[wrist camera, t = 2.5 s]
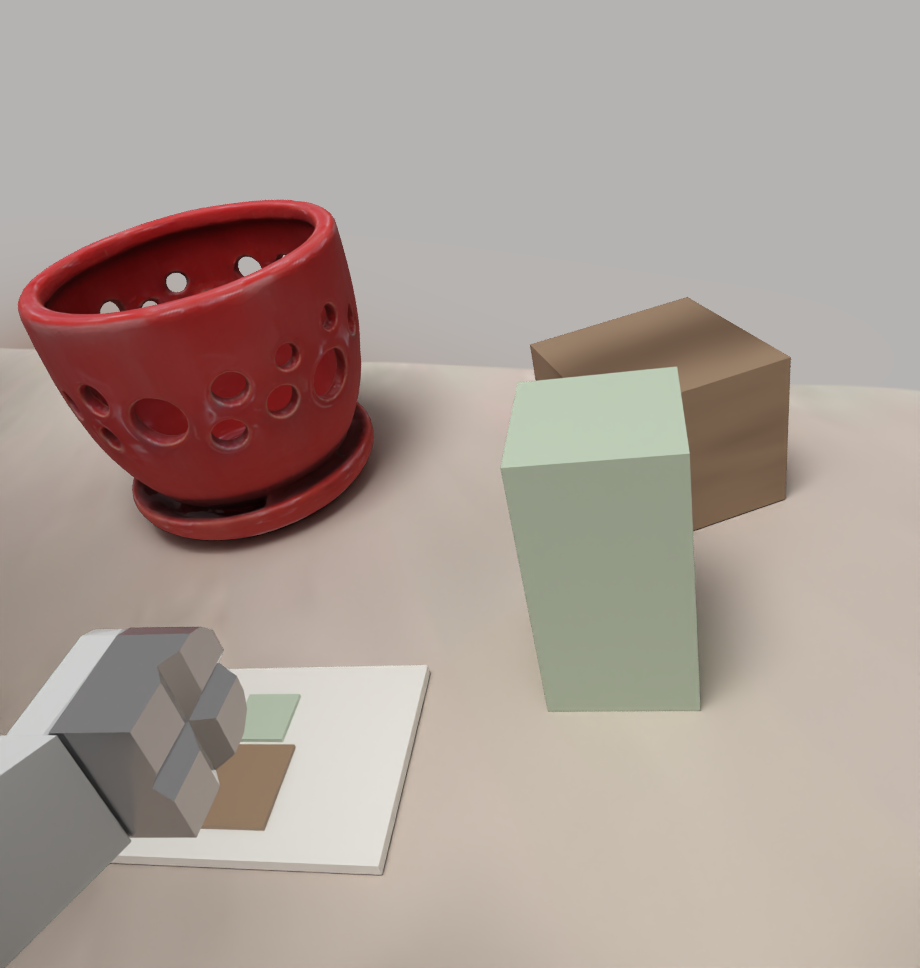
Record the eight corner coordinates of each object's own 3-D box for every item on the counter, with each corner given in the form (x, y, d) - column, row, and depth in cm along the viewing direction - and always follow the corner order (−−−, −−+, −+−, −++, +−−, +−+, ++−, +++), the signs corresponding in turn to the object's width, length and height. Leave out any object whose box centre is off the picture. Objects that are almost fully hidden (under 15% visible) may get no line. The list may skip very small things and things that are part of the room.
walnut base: (549, 468, 36) (530, 344, 33) (692, 421, 37) (687, 296, 34) (617, 556, 30) (602, 417, 27) (785, 498, 31) (790, 357, 28)
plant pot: (77, 551, 38) (-62, 311, 31) (249, 410, 47) (170, 202, 40) (298, 597, 32) (184, 312, 25) (445, 425, 41) (390, 184, 34)
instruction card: (58, 860, 24) (49, 849, 23) (164, 677, 29) (158, 667, 29) (381, 874, 21) (376, 863, 21) (430, 673, 27) (426, 662, 27)
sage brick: (700, 710, 24) (689, 453, 19) (548, 711, 25) (500, 468, 20) (688, 604, 27) (676, 366, 22) (556, 609, 28) (517, 382, 24)
